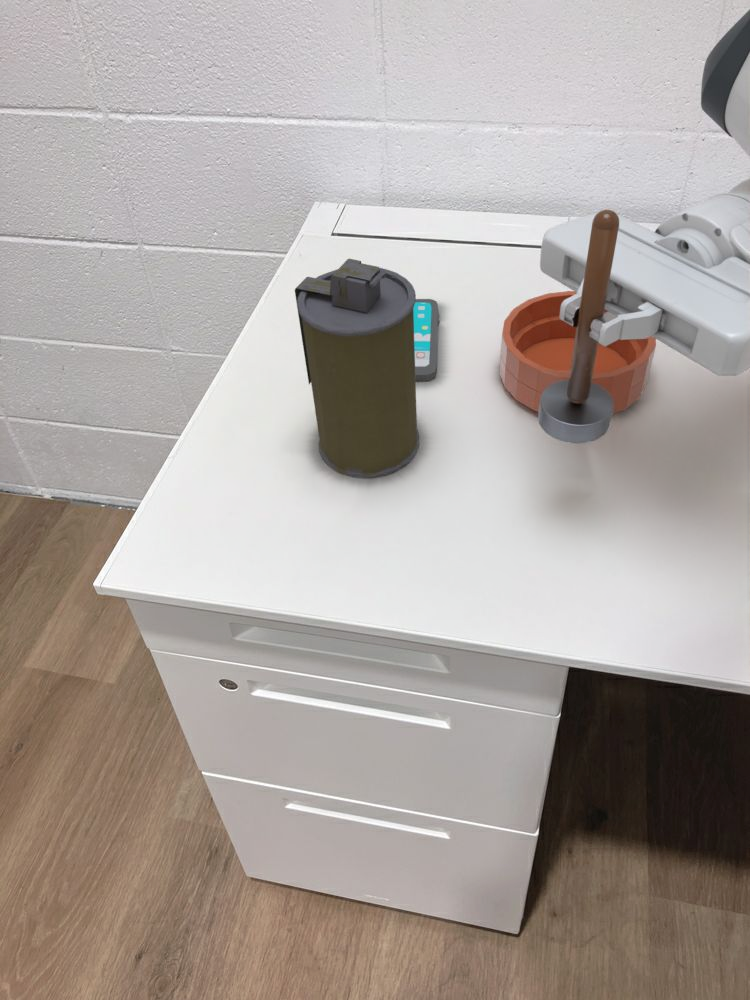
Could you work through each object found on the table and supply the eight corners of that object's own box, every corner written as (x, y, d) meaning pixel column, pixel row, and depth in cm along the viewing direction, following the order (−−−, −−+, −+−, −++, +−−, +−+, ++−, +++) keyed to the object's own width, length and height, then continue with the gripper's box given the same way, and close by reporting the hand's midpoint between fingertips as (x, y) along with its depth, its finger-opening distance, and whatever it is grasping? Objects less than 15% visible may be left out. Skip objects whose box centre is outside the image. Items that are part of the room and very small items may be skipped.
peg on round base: (619, 408, 69) (664, 199, 55) (595, 452, 65) (637, 241, 51) (553, 389, 71) (580, 184, 57) (526, 430, 67) (549, 222, 54)
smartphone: (360, 373, 89) (370, 298, 99) (361, 380, 90) (370, 305, 100) (438, 373, 88) (439, 297, 98) (438, 380, 89) (439, 304, 99)
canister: (435, 424, 84) (434, 250, 70) (393, 490, 78) (382, 314, 63) (343, 399, 88) (324, 230, 73) (296, 460, 81) (265, 288, 67)
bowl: (662, 357, 90) (674, 311, 85) (618, 442, 81) (628, 396, 76) (531, 323, 95) (536, 279, 91) (476, 399, 86) (478, 353, 82)
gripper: (614, 179, 69) (492, 233, 64) (829, 277, 57) (699, 353, 52) (603, 246, 74) (488, 301, 69) (800, 349, 62) (678, 425, 57)
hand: (581, 324), depth 60 cm, fingers closed on peg on round base
